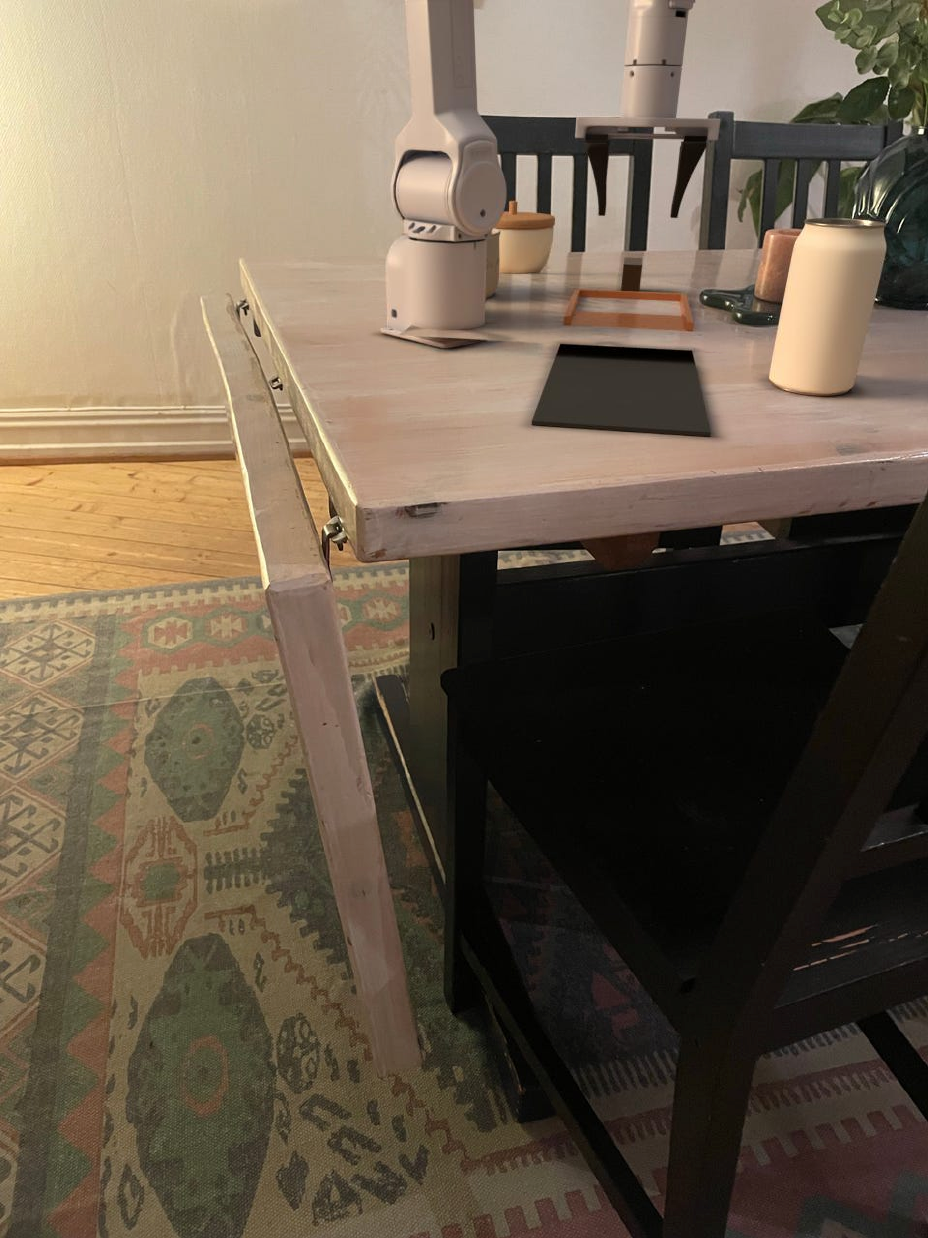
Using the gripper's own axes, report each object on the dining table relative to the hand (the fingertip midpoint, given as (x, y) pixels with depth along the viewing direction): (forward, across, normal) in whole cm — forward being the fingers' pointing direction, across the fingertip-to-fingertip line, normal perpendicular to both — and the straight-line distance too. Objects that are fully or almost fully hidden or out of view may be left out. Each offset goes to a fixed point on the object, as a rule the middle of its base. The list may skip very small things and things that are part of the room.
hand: (637, 215), depth 93 cm
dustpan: (+9, 0, +8) cm, 12 cm away
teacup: (+10, +20, +4) cm, 22 cm away
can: (+10, -15, +31) cm, 36 cm away
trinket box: (+10, +16, -16) cm, 24 cm away
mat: (+9, 0, +33) cm, 35 cm away
